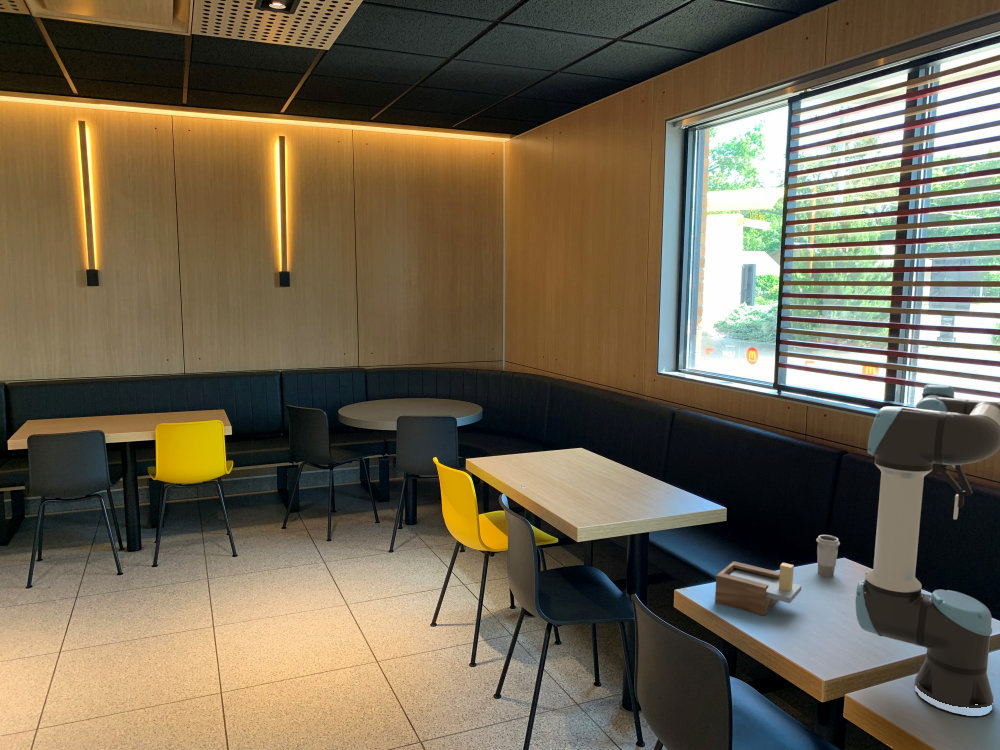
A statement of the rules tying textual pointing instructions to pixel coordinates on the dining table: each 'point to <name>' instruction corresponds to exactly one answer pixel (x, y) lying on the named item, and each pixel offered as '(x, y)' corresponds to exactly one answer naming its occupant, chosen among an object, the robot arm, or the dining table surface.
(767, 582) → the lid
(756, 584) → the case
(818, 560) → the cup
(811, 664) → the dining table surface
